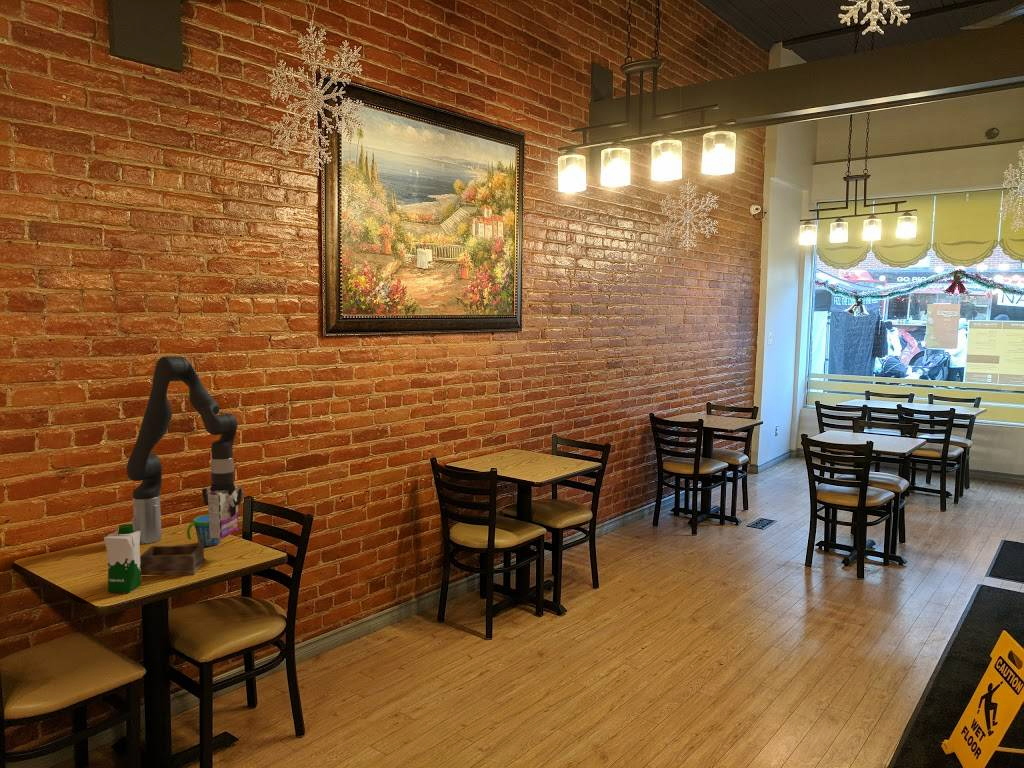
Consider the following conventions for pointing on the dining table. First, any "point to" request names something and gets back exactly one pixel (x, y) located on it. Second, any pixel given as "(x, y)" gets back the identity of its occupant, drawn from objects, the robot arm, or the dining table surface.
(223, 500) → the candy bar box
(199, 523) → the snack cup
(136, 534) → the milk carton
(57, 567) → the dining table surface
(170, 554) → the slot holder
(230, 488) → the robot arm
